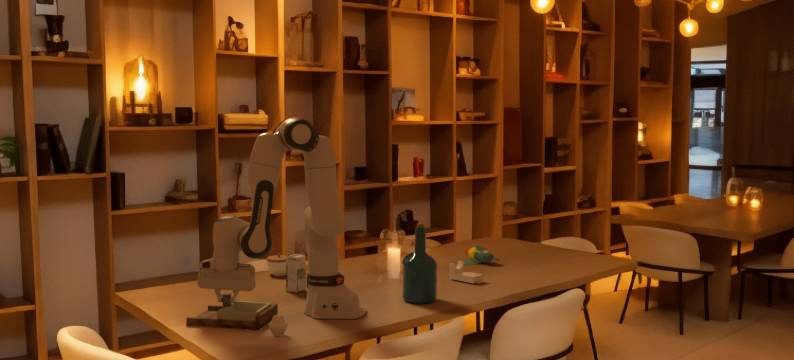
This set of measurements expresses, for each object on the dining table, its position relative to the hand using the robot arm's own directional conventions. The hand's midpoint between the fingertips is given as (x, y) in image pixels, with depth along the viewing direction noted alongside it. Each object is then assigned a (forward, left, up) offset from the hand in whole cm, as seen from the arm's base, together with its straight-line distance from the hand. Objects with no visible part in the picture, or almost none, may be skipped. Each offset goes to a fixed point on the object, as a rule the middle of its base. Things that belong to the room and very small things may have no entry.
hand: (226, 302), depth 252 cm
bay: (-2, 0, -6) cm, 7 cm away
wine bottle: (-60, -42, -7) cm, 74 cm away
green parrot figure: (-76, -118, -7) cm, 141 cm away
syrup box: (-9, -45, -7) cm, 46 cm away
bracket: (-74, -78, -7) cm, 108 cm away
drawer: (-6, 0, -5) cm, 8 cm away
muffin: (-23, +12, -7) cm, 27 cm away
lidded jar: (+8, -71, -7) cm, 72 cm away
